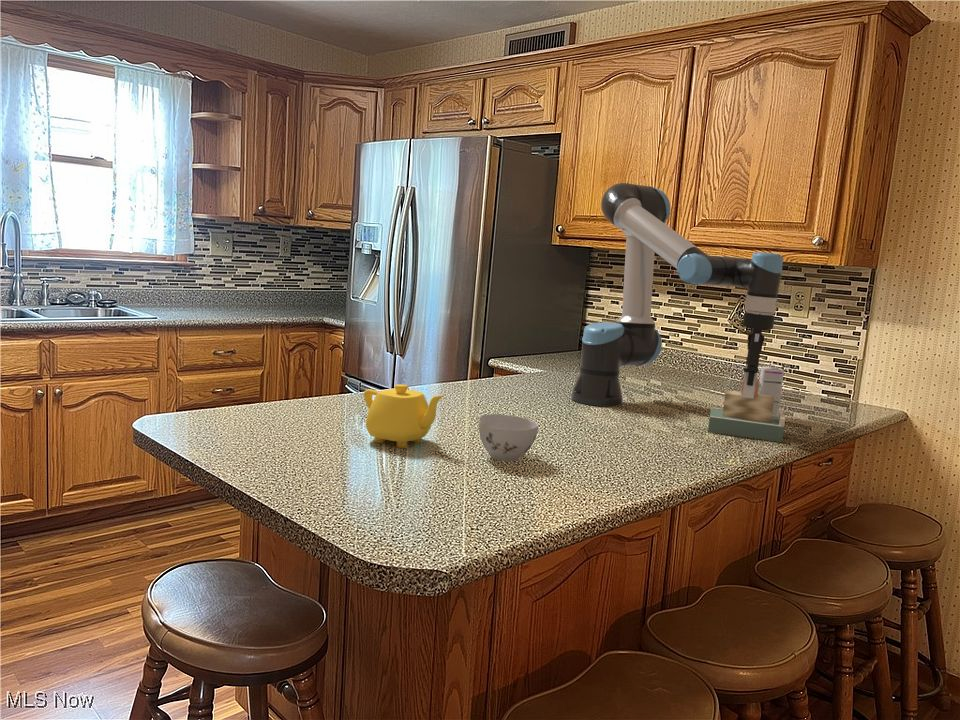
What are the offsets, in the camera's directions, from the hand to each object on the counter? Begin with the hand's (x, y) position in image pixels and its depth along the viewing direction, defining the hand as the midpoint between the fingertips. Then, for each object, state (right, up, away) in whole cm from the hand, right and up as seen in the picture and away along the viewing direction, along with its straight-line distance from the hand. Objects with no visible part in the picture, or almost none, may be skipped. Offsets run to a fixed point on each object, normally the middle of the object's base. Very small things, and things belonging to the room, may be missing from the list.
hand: (747, 393), depth 199 cm
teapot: (-88, -9, -35) cm, 95 cm away
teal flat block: (-1, -10, +1) cm, 10 cm away
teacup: (-65, -12, -41) cm, 77 cm away
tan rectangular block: (0, -6, 0) cm, 6 cm away
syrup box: (+14, -8, +25) cm, 30 cm away
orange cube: (0, 0, 0) cm, 1 cm away
